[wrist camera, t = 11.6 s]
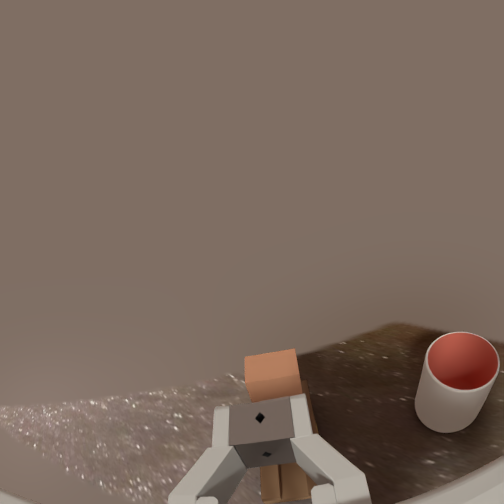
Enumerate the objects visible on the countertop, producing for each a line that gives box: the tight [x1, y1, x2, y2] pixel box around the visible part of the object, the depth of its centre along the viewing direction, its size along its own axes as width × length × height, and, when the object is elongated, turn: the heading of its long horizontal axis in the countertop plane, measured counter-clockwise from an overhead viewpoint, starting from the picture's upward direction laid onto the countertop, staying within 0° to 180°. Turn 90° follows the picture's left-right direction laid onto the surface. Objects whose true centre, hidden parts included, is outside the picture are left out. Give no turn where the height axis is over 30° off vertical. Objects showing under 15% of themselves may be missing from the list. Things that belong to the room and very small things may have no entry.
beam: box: [260, 380, 318, 504], centre depth 35 cm, size 7×17×4 cm, turn 2°
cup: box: [415, 332, 500, 433], centre depth 32 cm, size 10×10×10 cm
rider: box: [245, 349, 303, 403], centre depth 32 cm, size 5×4×13 cm
